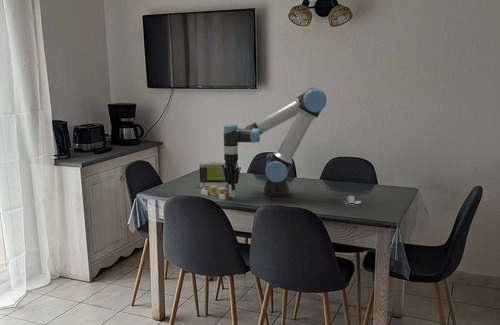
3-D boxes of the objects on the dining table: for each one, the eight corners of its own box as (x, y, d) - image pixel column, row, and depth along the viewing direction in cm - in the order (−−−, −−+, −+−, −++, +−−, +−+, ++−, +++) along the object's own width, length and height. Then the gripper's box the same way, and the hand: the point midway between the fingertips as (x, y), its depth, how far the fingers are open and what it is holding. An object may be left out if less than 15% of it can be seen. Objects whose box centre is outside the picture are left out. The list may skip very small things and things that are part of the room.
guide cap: (234, 196, 275) (234, 192, 274) (223, 199, 269) (223, 195, 268) (229, 195, 278) (229, 191, 277) (218, 198, 272) (218, 194, 271)
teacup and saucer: (363, 204, 260) (363, 197, 259) (352, 207, 256) (352, 199, 255) (351, 201, 267) (351, 193, 267) (340, 203, 263) (340, 195, 262)
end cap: (217, 192, 284) (217, 188, 284) (206, 195, 278) (206, 191, 278) (210, 190, 288) (210, 186, 288) (199, 193, 282) (199, 189, 282)
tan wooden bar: (230, 197, 274) (230, 189, 273) (225, 199, 271) (224, 190, 270) (210, 192, 285) (210, 184, 284) (205, 194, 282) (205, 185, 281)
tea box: (227, 184, 304) (226, 161, 301) (224, 188, 294) (224, 164, 291) (202, 184, 305) (202, 160, 302) (199, 188, 295) (199, 164, 293)
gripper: (244, 153, 264) (245, 196, 269) (227, 151, 273) (228, 192, 278) (234, 155, 259) (235, 199, 263) (217, 152, 268) (218, 195, 272)
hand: (231, 195), depth 271 cm, fingers closed
